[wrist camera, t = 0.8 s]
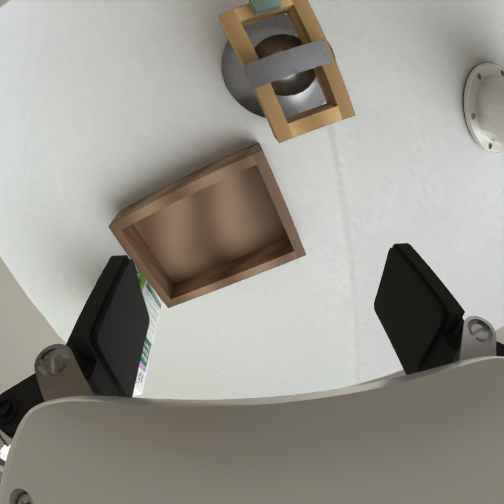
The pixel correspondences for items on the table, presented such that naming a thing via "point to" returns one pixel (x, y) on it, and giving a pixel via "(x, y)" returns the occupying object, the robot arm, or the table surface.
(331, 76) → the light wooden frame
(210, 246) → the tray
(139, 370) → the syrup box
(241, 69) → the door handle
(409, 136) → the table surface
